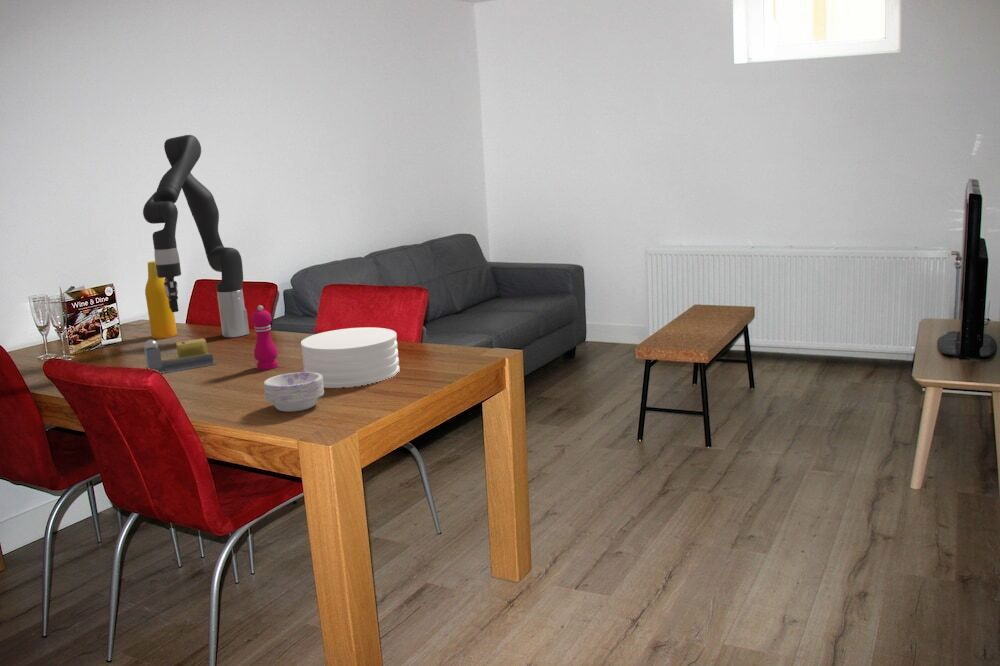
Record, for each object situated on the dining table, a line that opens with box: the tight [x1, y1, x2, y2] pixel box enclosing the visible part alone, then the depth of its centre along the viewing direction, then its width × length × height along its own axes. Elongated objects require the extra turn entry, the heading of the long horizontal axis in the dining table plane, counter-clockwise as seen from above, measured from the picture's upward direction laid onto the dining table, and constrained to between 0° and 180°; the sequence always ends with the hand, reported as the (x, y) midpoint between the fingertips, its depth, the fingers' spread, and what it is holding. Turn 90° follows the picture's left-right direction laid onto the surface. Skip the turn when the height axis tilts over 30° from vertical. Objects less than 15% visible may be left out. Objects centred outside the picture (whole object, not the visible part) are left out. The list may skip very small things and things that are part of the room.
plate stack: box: [300, 327, 401, 389], centre depth 253 cm, size 28×28×12 cm
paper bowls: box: [263, 371, 325, 413], centre depth 224 cm, size 15×15×8 cm
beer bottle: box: [144, 260, 178, 340], centre depth 325 cm, size 9×9×29 cm
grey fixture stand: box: [143, 339, 217, 374], centre depth 276 cm, size 20×12×10 cm, turn 118°
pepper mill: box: [251, 304, 279, 371], centre depth 267 cm, size 7×7×20 cm
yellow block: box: [175, 337, 209, 358], centre depth 289 cm, size 9×6×6 cm, turn 118°
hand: (174, 310), depth 285 cm, fingers open, 8 cm apart
